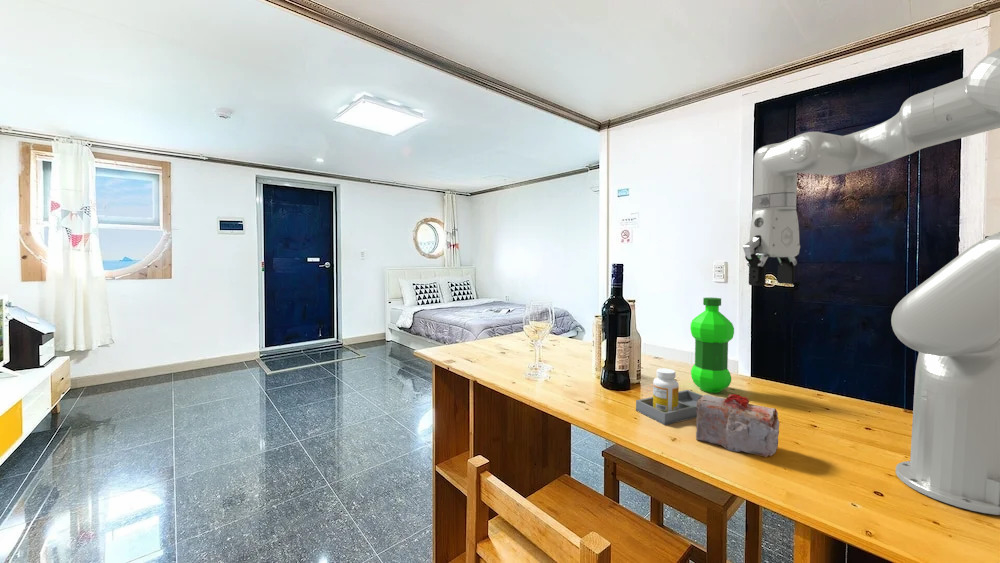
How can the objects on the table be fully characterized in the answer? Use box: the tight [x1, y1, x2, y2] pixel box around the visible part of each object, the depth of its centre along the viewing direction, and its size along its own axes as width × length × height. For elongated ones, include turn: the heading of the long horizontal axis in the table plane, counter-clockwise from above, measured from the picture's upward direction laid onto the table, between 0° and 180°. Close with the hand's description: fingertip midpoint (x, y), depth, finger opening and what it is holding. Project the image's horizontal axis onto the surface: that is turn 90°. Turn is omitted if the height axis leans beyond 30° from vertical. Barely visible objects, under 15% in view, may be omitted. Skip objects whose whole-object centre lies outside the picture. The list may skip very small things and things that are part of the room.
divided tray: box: [635, 389, 704, 426], centre depth 91 cm, size 9×17×2 cm, turn 113°
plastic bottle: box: [689, 297, 735, 394], centre depth 104 cm, size 10×10×25 cm
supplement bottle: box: [652, 367, 680, 412], centre depth 89 cm, size 5×5×10 cm
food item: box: [695, 393, 780, 458], centre depth 74 cm, size 14×8×10 cm, turn 52°
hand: (771, 284), depth 83 cm, fingers open, 9 cm apart
